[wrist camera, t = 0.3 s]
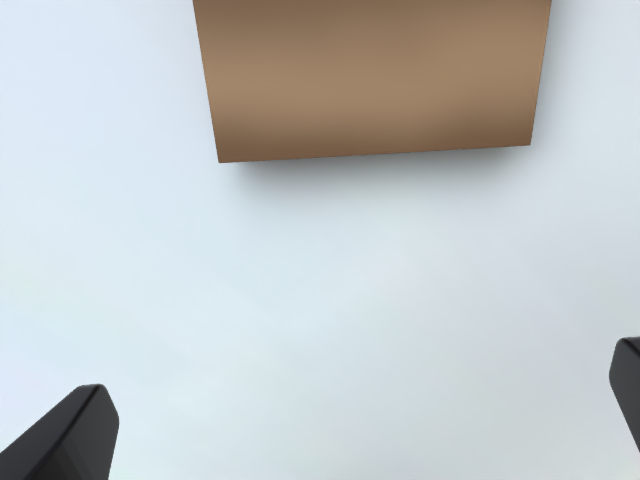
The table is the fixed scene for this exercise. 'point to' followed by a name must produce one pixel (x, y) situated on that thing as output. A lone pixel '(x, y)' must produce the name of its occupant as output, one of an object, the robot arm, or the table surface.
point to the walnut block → (369, 75)
